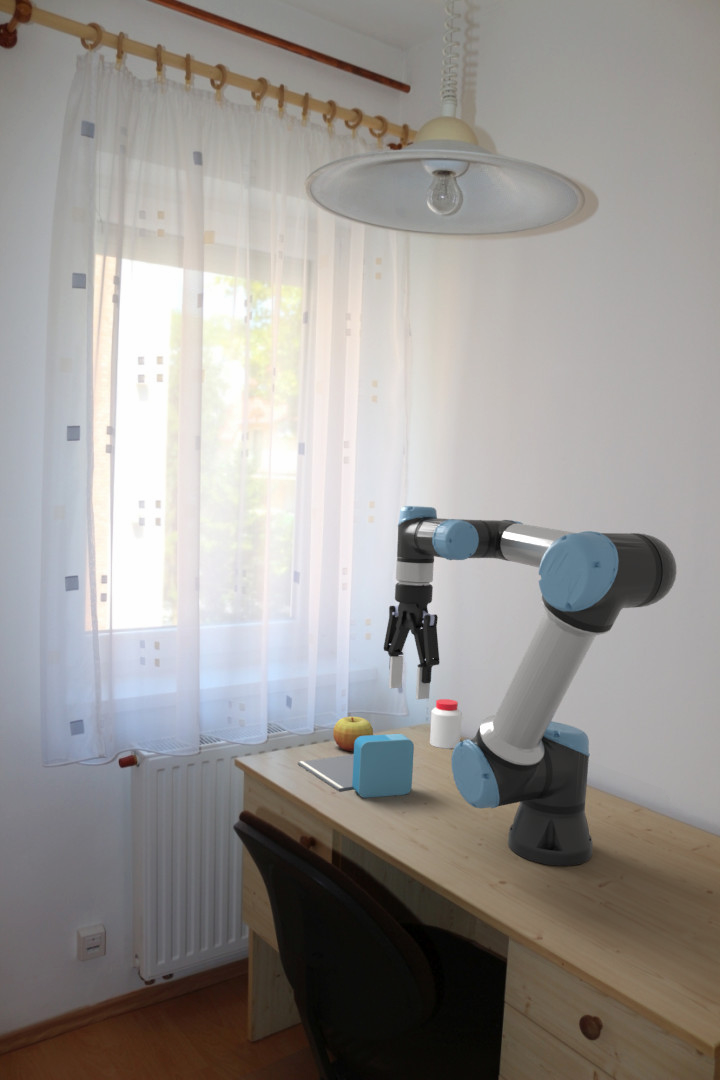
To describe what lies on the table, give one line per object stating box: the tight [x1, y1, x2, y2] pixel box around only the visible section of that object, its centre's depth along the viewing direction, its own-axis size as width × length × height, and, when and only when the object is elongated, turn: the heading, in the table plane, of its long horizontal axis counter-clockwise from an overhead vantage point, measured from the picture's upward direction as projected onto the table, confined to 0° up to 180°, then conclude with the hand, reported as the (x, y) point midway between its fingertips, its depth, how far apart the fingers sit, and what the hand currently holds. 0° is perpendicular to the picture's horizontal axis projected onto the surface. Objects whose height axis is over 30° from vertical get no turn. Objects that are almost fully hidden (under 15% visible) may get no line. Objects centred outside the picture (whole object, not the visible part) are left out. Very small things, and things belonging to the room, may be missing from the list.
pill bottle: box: [429, 698, 462, 750], centre depth 220 cm, size 8×8×11 cm
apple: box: [332, 716, 374, 752], centre depth 213 cm, size 10×10×8 cm
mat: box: [297, 753, 354, 792], centre depth 196 cm, size 19×18×1 cm
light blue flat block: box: [352, 733, 415, 799], centre depth 183 cm, size 12×4×12 cm, turn 109°
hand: (408, 692), depth 175 cm, fingers open, 9 cm apart
